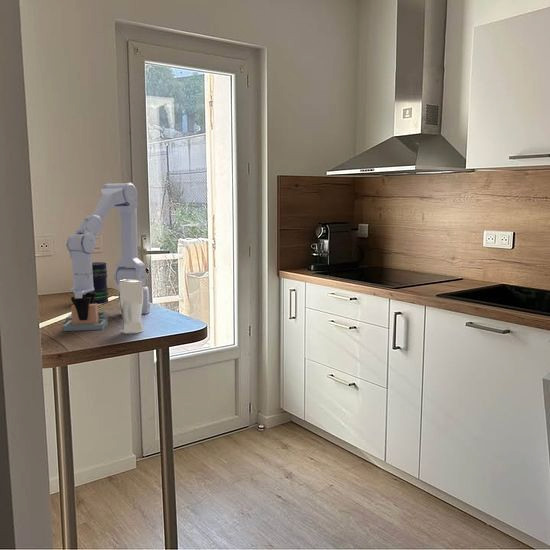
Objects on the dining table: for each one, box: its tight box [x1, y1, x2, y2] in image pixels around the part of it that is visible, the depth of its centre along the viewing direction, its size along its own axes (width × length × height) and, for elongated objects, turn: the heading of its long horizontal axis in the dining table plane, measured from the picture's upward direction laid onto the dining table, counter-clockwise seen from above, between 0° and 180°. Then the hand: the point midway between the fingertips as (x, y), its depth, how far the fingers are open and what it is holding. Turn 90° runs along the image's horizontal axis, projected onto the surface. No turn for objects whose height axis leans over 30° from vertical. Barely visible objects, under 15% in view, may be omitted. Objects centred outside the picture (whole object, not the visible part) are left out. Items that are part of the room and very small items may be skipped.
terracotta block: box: [70, 304, 99, 325], centre depth 169 cm, size 7×4×7 cm, turn 97°
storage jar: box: [90, 261, 109, 305], centre depth 213 cm, size 10×10×15 cm
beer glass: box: [117, 279, 144, 335], centre depth 161 cm, size 7×7×15 cm
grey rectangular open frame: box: [65, 311, 109, 323], centre depth 181 cm, size 12×8×2 cm
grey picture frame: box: [62, 318, 109, 332], centre depth 169 cm, size 12×8×2 cm
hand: (85, 318), depth 169 cm, fingers open, 5 cm apart
